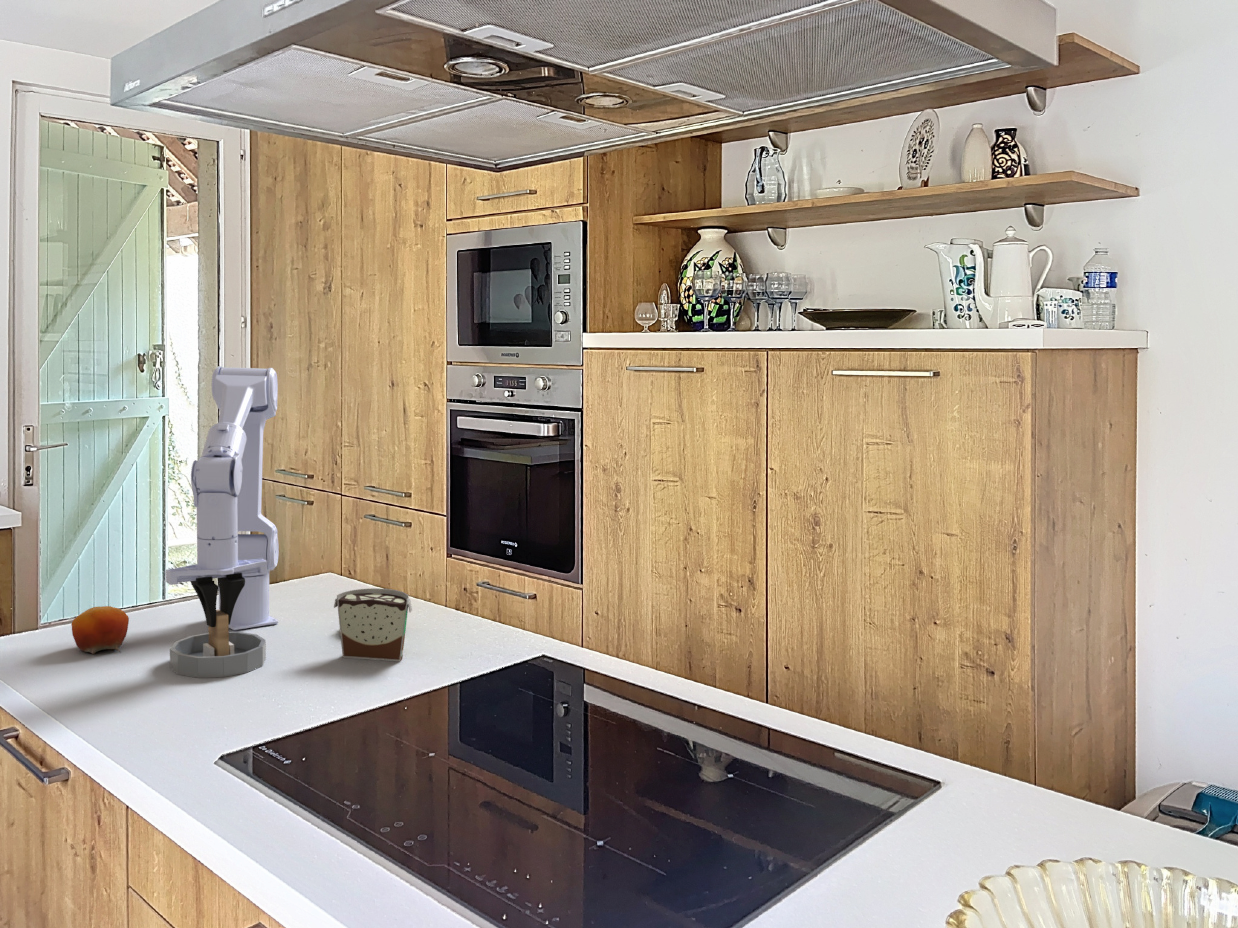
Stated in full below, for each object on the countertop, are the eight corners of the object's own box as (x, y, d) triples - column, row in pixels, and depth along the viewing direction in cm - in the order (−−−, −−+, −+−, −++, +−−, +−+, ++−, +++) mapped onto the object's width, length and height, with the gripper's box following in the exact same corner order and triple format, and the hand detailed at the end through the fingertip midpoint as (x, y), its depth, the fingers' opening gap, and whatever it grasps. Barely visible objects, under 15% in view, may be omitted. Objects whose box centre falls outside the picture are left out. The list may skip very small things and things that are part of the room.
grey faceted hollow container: (159, 659, 161) (159, 640, 160) (244, 645, 169) (244, 627, 169) (189, 683, 151) (189, 663, 151) (278, 666, 160) (278, 647, 159)
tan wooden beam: (209, 655, 161) (208, 611, 160) (219, 654, 162) (218, 609, 161) (218, 662, 158) (217, 616, 157) (229, 660, 159) (228, 614, 158)
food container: (421, 650, 170) (422, 590, 169) (409, 661, 164) (410, 599, 163) (347, 645, 172) (347, 585, 170) (333, 656, 165) (333, 594, 164)
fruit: (84, 653, 158) (75, 603, 160) (72, 668, 163) (64, 619, 166) (140, 644, 163) (131, 596, 165) (127, 659, 169) (118, 611, 171)
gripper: (176, 546, 150) (178, 638, 152) (275, 536, 160) (275, 623, 161) (160, 537, 155) (162, 627, 157) (256, 528, 165) (257, 612, 166)
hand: (218, 624), depth 159 cm, fingers closed on tan wooden beam, 1 cm apart
